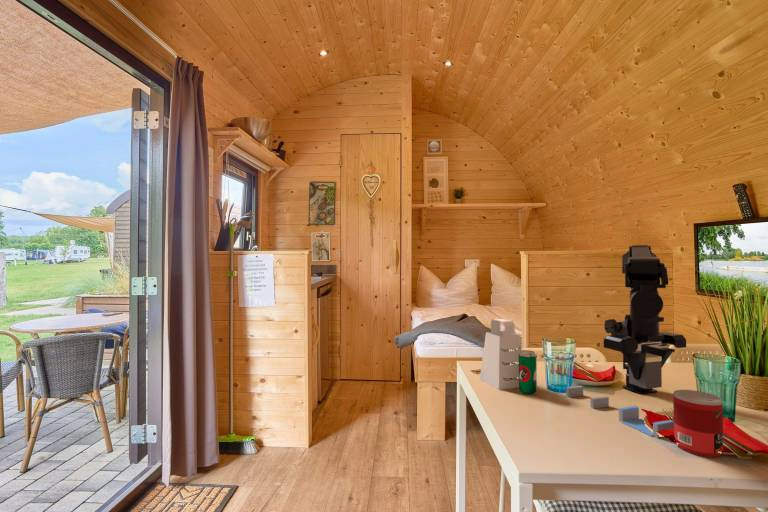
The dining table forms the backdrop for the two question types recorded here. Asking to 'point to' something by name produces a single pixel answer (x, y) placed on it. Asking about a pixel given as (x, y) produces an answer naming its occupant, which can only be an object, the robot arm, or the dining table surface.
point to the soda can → (527, 372)
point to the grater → (501, 356)
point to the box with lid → (649, 373)
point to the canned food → (698, 422)
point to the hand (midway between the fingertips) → (645, 378)
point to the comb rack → (623, 413)
